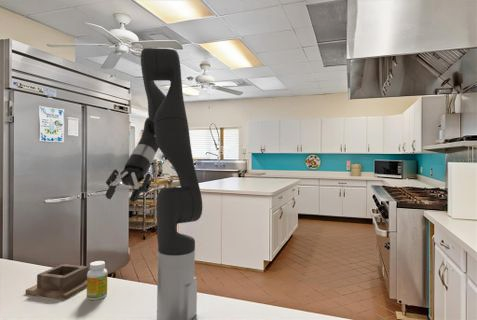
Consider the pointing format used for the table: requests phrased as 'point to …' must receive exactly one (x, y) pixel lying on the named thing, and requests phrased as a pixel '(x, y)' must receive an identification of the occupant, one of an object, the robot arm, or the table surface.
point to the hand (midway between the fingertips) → (119, 199)
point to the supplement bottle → (97, 281)
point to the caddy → (60, 282)
